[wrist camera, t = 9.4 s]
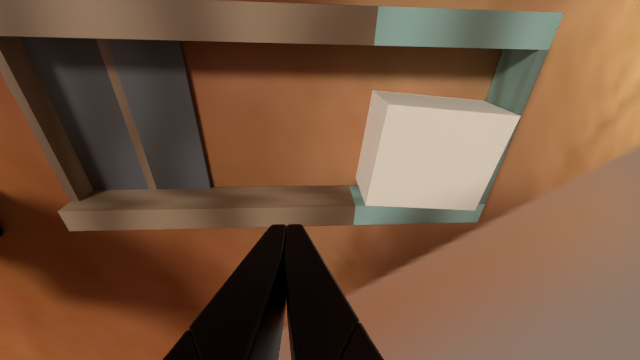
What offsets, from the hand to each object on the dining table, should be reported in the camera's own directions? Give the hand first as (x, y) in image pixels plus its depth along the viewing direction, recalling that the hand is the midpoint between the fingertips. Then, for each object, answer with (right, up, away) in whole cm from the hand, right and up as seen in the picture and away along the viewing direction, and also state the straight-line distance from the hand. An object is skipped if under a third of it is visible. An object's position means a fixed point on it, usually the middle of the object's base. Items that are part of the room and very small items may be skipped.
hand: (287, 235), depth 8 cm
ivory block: (+7, +4, +10) cm, 13 cm away
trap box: (-1, +5, +9) cm, 10 cm away
